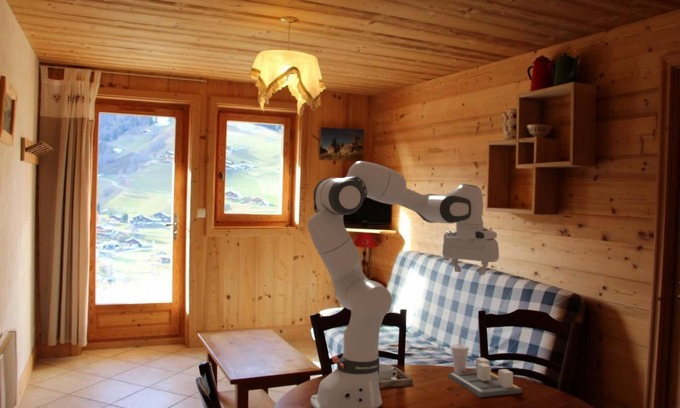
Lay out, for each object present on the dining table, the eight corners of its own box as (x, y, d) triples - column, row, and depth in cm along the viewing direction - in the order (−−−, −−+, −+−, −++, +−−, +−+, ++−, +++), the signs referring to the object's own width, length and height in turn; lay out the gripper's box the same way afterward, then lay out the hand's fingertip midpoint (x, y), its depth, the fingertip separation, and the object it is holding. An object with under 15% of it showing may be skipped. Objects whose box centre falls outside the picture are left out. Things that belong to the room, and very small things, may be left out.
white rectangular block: (483, 381, 190) (483, 366, 190) (476, 377, 194) (477, 363, 194) (490, 380, 191) (491, 366, 191) (484, 376, 195) (484, 362, 195)
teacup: (365, 382, 192) (366, 369, 192) (372, 374, 201) (373, 361, 201) (394, 386, 189) (394, 372, 189) (399, 377, 198) (399, 364, 198)
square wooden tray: (372, 388, 186) (372, 382, 186) (357, 374, 200) (357, 369, 200) (412, 384, 190) (412, 379, 190) (394, 371, 204) (395, 366, 204)
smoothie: (448, 373, 204) (449, 335, 204) (453, 368, 210) (454, 332, 210) (465, 376, 201) (466, 338, 201) (470, 371, 207) (471, 334, 207)
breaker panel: (480, 397, 180) (480, 377, 180) (448, 377, 200) (448, 359, 200) (521, 392, 185) (522, 373, 185) (486, 373, 205) (486, 356, 205)
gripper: (438, 231, 191) (438, 271, 191) (491, 234, 176) (491, 277, 176) (449, 230, 195) (449, 269, 196) (501, 233, 181) (501, 275, 181)
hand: (469, 273), depth 186 cm, fingers open, 8 cm apart
